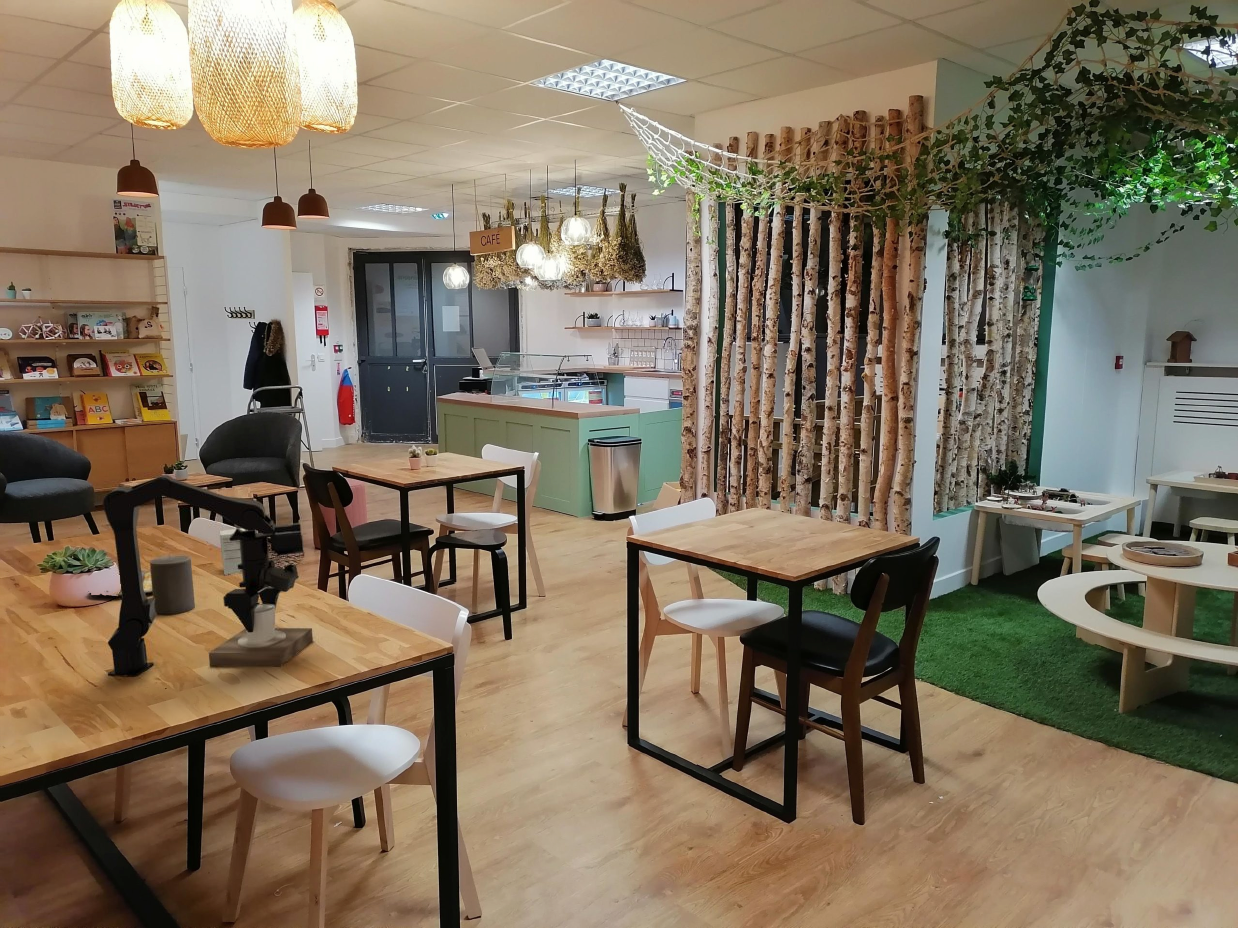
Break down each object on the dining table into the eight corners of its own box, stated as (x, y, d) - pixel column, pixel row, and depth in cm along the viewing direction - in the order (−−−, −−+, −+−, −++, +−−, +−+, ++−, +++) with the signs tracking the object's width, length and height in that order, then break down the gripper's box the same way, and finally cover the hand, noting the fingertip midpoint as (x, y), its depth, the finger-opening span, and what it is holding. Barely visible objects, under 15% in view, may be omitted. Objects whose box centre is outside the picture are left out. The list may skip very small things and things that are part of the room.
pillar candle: (157, 617, 221) (152, 560, 219) (151, 608, 229) (146, 553, 227) (198, 610, 227) (194, 555, 225) (191, 601, 235) (187, 548, 232)
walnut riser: (280, 666, 185) (279, 650, 185) (209, 665, 187) (208, 650, 186) (312, 640, 201) (311, 626, 201) (247, 640, 202) (246, 625, 202)
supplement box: (223, 570, 267) (219, 530, 265) (249, 566, 270) (245, 527, 268) (223, 575, 260) (219, 535, 258) (249, 572, 263) (246, 532, 261)
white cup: (265, 643, 189) (262, 613, 188) (238, 642, 191) (235, 611, 190) (284, 633, 196) (281, 603, 195) (257, 631, 197) (254, 602, 196)
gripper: (269, 568, 181) (275, 639, 183) (308, 547, 199) (313, 612, 201) (219, 568, 182) (225, 639, 184) (262, 547, 200) (267, 611, 202)
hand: (261, 625), depth 193 cm, fingers open, 9 cm apart
